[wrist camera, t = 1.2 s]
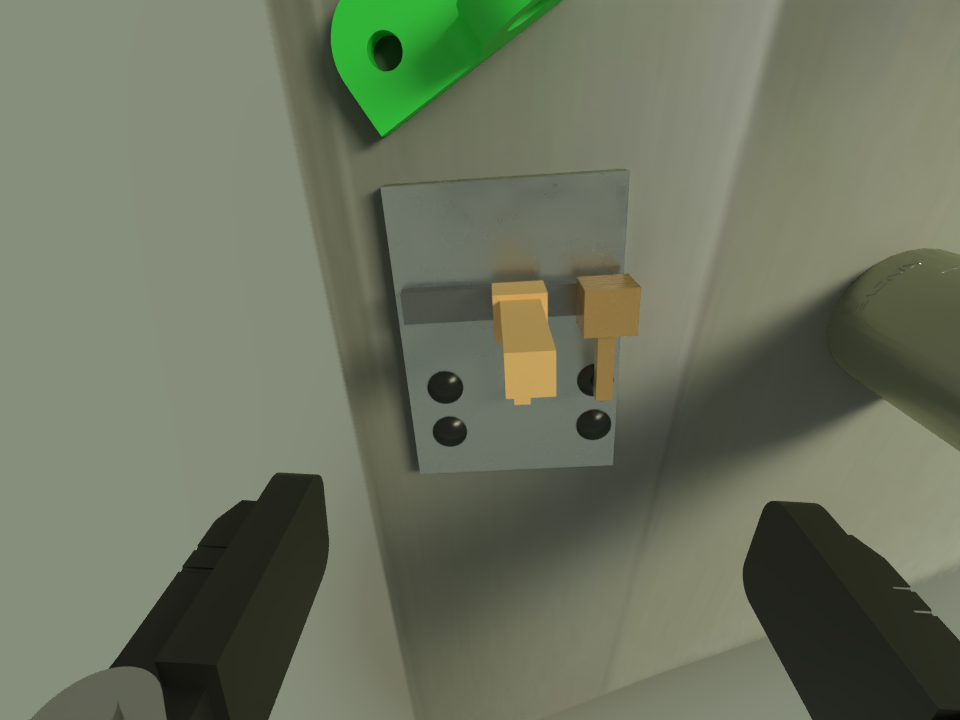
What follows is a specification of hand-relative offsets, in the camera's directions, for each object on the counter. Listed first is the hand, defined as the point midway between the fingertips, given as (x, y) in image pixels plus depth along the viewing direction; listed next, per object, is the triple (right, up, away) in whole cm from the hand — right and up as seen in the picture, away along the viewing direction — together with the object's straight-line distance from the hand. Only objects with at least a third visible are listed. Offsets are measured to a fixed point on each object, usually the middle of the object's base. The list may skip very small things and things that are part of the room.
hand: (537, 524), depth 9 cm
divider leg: (+1, +5, +23) cm, 24 cm away
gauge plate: (+1, +5, +25) cm, 25 cm away
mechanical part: (-3, +21, +17) cm, 28 cm away
